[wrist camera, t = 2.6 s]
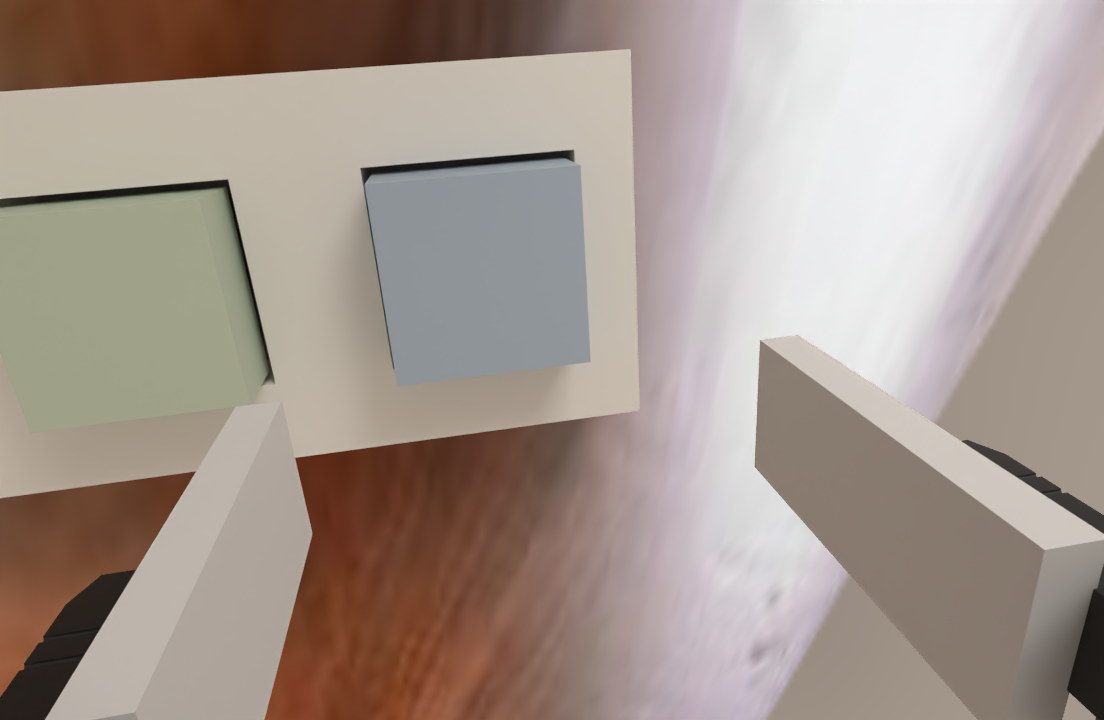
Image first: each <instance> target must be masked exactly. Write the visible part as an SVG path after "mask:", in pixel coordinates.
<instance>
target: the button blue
mask: <svg viewBox="0 0 1104 720" xmlns="http://www.w3.org/2000/svg"><path fill="white" fill-rule="evenodd" d="M365 191H366V197H367V203H368V209H369V216H370V222H371V228H372V234H373V240H374V246H375V252H376V259H377V265H378V271H379V277H380V283H381V289H382V295H383V302H384V308H385V314H386V320H387V326H388V332H389V338H390V345H391V351H392V357H393V363H394V369H395V375H396V381H397V386H405V385H413V384H421V383H429V382H437V381H445V380H452V379H460V378H468V377H476V376H484V375H492V374H500V373H508V372H516V371H524V370H531V369H539V368H547V367H555V366H563V365H571V364H579V363H587V362H591V359H590V340H589V320H588V301H587V282H586V262H585V243H584V223H583V204H582V185H581V165H579V164H577V163H574V162H572V161H570V160H568V159H566V158H564V157H560V158H549V159H537V160H526V161H514V162H503V163H491V164H480V165H468V166H457V167H445V168H434V169H422V170H411V171H399V172H388V173H377V174H371V176H370V177H369V179H368V180H367V182H366V183H365Z"/></svg>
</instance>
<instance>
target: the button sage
mask: <svg viewBox="0 0 1104 720" xmlns="http://www.w3.org/2000/svg"><path fill="white" fill-rule="evenodd" d="M0 354H1V357H2V359H3V362H4V365H5V367H6V370H7V373H8V375H9V378H10V380H11V383H12V386H13V388H14V391H15V393H16V396H17V399H18V401H19V404H20V406H21V409H22V412H23V414H24V417H25V420H26V422H27V425H28V427H29V430H30V433H34V432H42V431H49V430H57V429H65V428H73V427H81V426H89V425H97V424H105V423H113V422H121V421H128V420H136V419H144V418H152V417H160V416H168V415H176V414H184V413H192V412H200V411H208V410H215V409H223V408H231V407H237V406H245V405H251V403H252V401H253V399H254V398H255V396H256V394H257V392H258V391H259V389H260V387H261V385H262V384H263V382H264V380H265V378H266V376H267V375H268V373H269V367H268V363H267V358H266V354H265V350H264V345H263V341H262V337H261V333H260V328H259V324H258V320H257V315H256V311H255V307H254V303H253V298H252V294H251V290H250V286H249V281H248V277H247V273H246V268H245V264H244V260H243V256H242V251H241V247H240V243H239V239H238V234H237V230H236V226H235V221H234V217H233V213H232V209H231V204H230V200H229V196H228V191H227V187H216V188H204V189H193V190H181V191H170V192H158V193H147V194H136V195H124V196H113V197H101V198H90V199H78V200H67V201H55V202H44V203H32V204H21V205H9V206H6V207H2V208H0Z"/></svg>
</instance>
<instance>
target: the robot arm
mask: <svg viewBox="0 0 1104 720" xmlns="http://www.w3.org/2000/svg"><path fill="white" fill-rule="evenodd" d="M755 468H756V469H757V470H758V471H759V472H760V473H761V474H762V475H763V477H764V478H765V479H766V480H767V481H768V482H769V483H770V485H771V486H772V487H773V488H774V489H775V490H776V491H777V492H778V494H779V495H780V496H781V497H782V498H783V499H784V500H785V502H786V503H787V504H788V505H789V506H790V507H791V508H792V510H793V511H794V512H795V513H796V514H797V515H798V516H799V517H800V519H801V520H802V521H803V522H804V523H805V524H806V525H807V527H808V528H809V529H810V530H811V531H812V532H813V533H814V534H815V536H816V537H817V538H818V539H819V540H820V541H821V542H822V544H823V545H824V546H825V547H826V548H827V549H828V550H829V552H830V553H831V554H832V555H833V556H834V557H835V558H836V559H837V561H838V562H839V563H840V564H841V565H842V566H843V567H844V569H845V570H846V571H847V572H848V573H849V574H850V575H851V576H852V578H853V579H854V580H855V581H856V582H857V583H858V584H859V586H860V587H861V588H862V589H863V590H864V591H865V592H866V593H867V595H868V596H869V597H870V598H871V599H872V600H873V601H874V602H875V604H876V605H877V606H878V607H879V608H880V609H881V610H882V612H883V613H884V614H885V615H886V616H887V617H888V618H889V619H890V621H891V622H892V623H893V624H894V625H895V626H896V627H897V629H898V630H899V631H900V632H901V633H902V634H903V635H904V637H905V638H906V639H907V640H908V641H909V642H910V643H911V645H912V646H913V647H914V648H915V649H916V650H917V651H918V653H919V654H920V655H921V656H922V657H923V658H924V659H925V660H926V662H927V663H928V664H929V665H930V666H931V667H932V668H933V670H934V671H935V672H936V673H937V674H938V675H939V676H940V677H941V679H942V680H943V681H944V682H945V683H946V684H947V685H948V686H949V688H950V689H951V690H952V691H953V692H954V693H955V694H956V696H957V697H958V698H959V699H960V700H961V701H962V702H963V704H965V706H966V707H967V708H968V709H969V710H970V711H971V713H972V714H973V715H974V716H975V717H976V718H977V719H978V720H1062V718H1063V714H1064V710H1065V707H1066V703H1067V699H1068V695H1069V692H1070V693H1071V694H1072V695H1073V696H1074V697H1075V698H1076V699H1077V700H1078V701H1079V702H1081V703H1082V704H1083V705H1084V706H1085V707H1086V708H1087V709H1088V710H1089V711H1090V712H1091V713H1092V714H1094V715H1095V716H1096V720H1104V515H1102V514H1101V513H1099V512H1098V511H1096V510H1094V509H1093V508H1091V507H1090V506H1088V505H1086V504H1085V503H1083V502H1081V501H1080V500H1078V499H1077V498H1075V497H1073V496H1072V495H1070V494H1069V493H1062V492H1061V489H1060V488H1059V487H1057V486H1056V485H1054V484H1053V483H1051V482H1049V481H1048V480H1046V479H1045V478H1043V477H1036V473H1035V472H1033V471H1032V470H1030V469H1028V468H1027V467H1025V466H1023V465H1022V464H1020V463H1019V462H1017V461H1016V460H1014V459H1012V458H1011V457H1009V456H1008V455H1006V454H1004V453H1001V452H998V451H995V450H993V449H990V448H987V447H985V446H982V445H979V444H976V443H974V442H971V441H969V440H965V441H960V440H958V439H957V438H955V437H954V436H952V435H951V434H949V433H948V432H946V431H944V430H943V429H941V428H940V427H938V426H937V425H935V424H934V423H932V422H931V421H929V420H928V419H926V418H925V417H923V416H921V415H920V414H918V413H917V412H915V411H914V410H912V409H911V408H909V407H908V406H906V405H904V404H903V403H901V402H900V401H898V400H897V399H895V398H894V397H892V396H891V395H889V394H888V393H886V392H884V391H883V390H881V389H880V388H878V387H877V386H875V385H874V384H872V383H871V382H869V381H868V380H866V379H864V378H863V377H861V376H860V375H858V374H857V373H855V372H854V371H852V370H851V369H849V368H848V367H846V366H844V365H843V364H841V363H840V362H838V361H837V360H835V359H834V358H832V357H831V356H829V355H828V354H826V353H824V352H823V351H821V350H820V349H818V348H817V347H815V346H814V345H812V344H811V343H809V342H808V341H806V340H804V339H803V338H801V337H800V336H798V335H796V336H788V337H781V338H773V339H765V340H760V355H759V379H758V402H757V425H756V448H755ZM311 537H312V529H311V525H310V521H309V516H308V512H307V508H306V504H305V499H304V495H303V491H302V486H301V482H300V478H299V473H298V469H297V465H296V460H295V456H294V452H293V447H292V443H291V439H290V434H289V430H288V426H287V421H286V417H285V413H284V408H283V404H282V401H277V402H269V403H261V404H253V405H245V406H237V407H235V409H234V410H233V412H232V414H231V415H230V417H229V419H228V420H227V422H226V424H225V425H224V427H223V429H222V430H221V432H220V433H219V435H218V437H217V438H216V440H215V442H214V443H213V445H212V447H211V448H210V450H209V451H208V453H207V455H206V456H205V458H204V460H203V461H202V463H201V465H200V466H199V468H198V470H197V471H196V473H195V474H194V476H193V478H192V479H191V481H190V483H189V484H188V486H187V488H186V489H185V491H184V493H183V494H182V496H181V497H180V499H179V501H178V502H177V504H176V506H175V507H174V509H173V511H172V512H171V514H170V515H169V517H168V519H167V520H166V522H165V524H164V525H163V527H162V529H161V530H160V532H159V534H158V535H157V537H156V538H155V540H154V542H153V543H152V545H151V547H150V548H149V550H148V552H147V553H146V555H145V557H144V558H143V560H142V561H141V563H140V565H139V566H138V568H137V570H132V571H126V572H119V573H113V574H106V575H101V576H100V577H99V578H98V579H97V580H95V581H94V582H93V583H92V584H90V585H89V586H88V587H87V588H86V589H84V590H83V591H82V592H81V593H79V594H78V595H77V596H76V597H75V598H73V599H72V600H71V601H70V602H68V603H67V604H66V605H65V607H64V608H63V609H62V611H61V612H60V614H59V615H58V616H57V618H56V619H55V621H54V622H53V624H52V625H51V626H50V628H49V629H48V631H47V632H46V634H45V635H44V636H43V637H44V641H43V642H42V643H38V645H37V646H36V648H35V649H34V651H33V652H32V653H31V655H30V656H29V658H28V659H27V660H26V662H25V663H24V666H25V667H24V670H22V671H19V672H18V673H17V675H16V676H15V677H14V679H13V680H12V682H11V683H10V685H9V686H8V687H7V689H6V690H5V692H4V693H3V694H2V696H1V697H0V720H264V719H265V715H266V711H267V707H268V704H269V700H270V696H271V692H272V688H273V684H274V680H275V677H276V673H277V669H278V665H279V661H280V657H281V653H282V650H283V646H284V642H285V638H286V634H287V630H288V626H289V622H290V619H291V615H292V611H293V607H294V603H295V599H296V595H297V592H298V588H299V584H300V580H301V576H302V572H303V568H304V565H305V561H306V557H307V553H308V549H309V545H310V541H311Z"/></svg>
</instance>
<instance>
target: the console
mask: <svg viewBox="0 0 1104 720" xmlns="http://www.w3.org/2000/svg"><path fill="white" fill-rule="evenodd" d="M560 157H564V158H566V159H568V160H570V161H572V162H574V163H577V164H579V165H581V185H582V204H583V223H584V243H585V262H586V282H587V301H588V320H589V340H590V359H591V362H587V363H579V364H571V365H563V366H555V367H547V368H539V369H531V370H524V371H516V372H508V373H500V374H492V375H484V376H476V377H468V378H460V379H452V380H445V381H437V382H429V383H421V384H413V385H405V386H397V381H396V375H395V369H394V363H393V357H392V351H391V345H390V338H389V332H388V326H387V320H386V314H385V308H384V302H383V295H382V289H381V283H380V277H379V271H378V265H377V259H376V252H375V246H374V240H373V234H372V228H371V222H370V216H369V209H368V203H367V197H366V191H365V183H366V182H367V180H368V179H369V177H370V176H371V174H377V173H388V172H399V171H411V170H422V169H434V168H445V167H457V166H468V165H480V164H491V163H503V162H514V161H526V160H537V159H549V158H560ZM216 187H227V191H228V196H229V200H230V204H231V209H232V213H233V217H234V221H235V226H236V230H237V234H238V239H239V243H240V247H241V251H242V256H243V260H244V264H245V268H246V273H247V277H248V281H249V286H250V290H251V294H252V298H253V303H254V307H255V311H256V315H257V320H258V324H259V328H260V333H261V337H262V341H263V345H264V350H265V354H266V358H267V363H268V367H269V373H268V375H267V376H266V378H265V380H264V382H263V384H262V385H261V387H260V389H259V391H258V392H257V394H256V396H255V398H254V399H253V401H252V403H251V405H253V404H261V403H269V402H277V401H282V404H283V408H284V413H285V417H286V421H287V426H288V430H289V434H290V439H291V443H292V447H293V452H294V456H295V458H297V457H305V456H312V455H319V454H326V453H334V452H341V451H348V450H356V449H363V448H370V447H378V446H385V445H392V444H399V443H407V442H414V441H421V440H429V439H436V438H443V437H450V436H458V435H465V434H472V433H480V432H487V431H494V430H502V429H509V428H516V427H523V426H531V425H538V424H545V423H553V422H560V421H567V420H575V419H582V418H589V417H596V416H604V415H611V414H618V413H626V412H633V411H640V408H639V367H638V327H637V286H636V245H635V205H634V164H633V123H632V83H631V49H626V50H611V51H596V52H581V53H567V54H552V55H537V56H522V57H507V58H493V59H478V60H463V61H448V62H433V63H419V64H404V65H389V66H374V67H359V68H345V69H330V70H315V71H300V72H285V73H271V74H256V75H241V76H226V77H211V78H196V79H182V80H167V81H152V82H137V83H122V84H108V85H93V86H78V87H63V88H48V89H34V90H19V91H4V92H0V208H2V207H6V206H9V205H21V204H32V203H44V202H55V201H67V200H78V199H90V198H101V197H113V196H124V195H136V194H147V193H158V192H170V191H181V190H193V189H204V188H216ZM234 409H235V407H231V408H223V409H215V410H208V411H200V412H192V413H184V414H176V415H168V416H160V417H152V418H144V419H136V420H128V421H121V422H113V423H105V424H97V425H89V426H81V427H73V428H65V429H57V430H49V431H42V432H34V433H30V430H29V427H28V425H27V422H26V420H25V417H24V414H23V412H22V409H21V406H20V404H19V401H18V399H17V396H16V393H15V391H14V388H13V386H12V383H11V380H10V378H9V375H8V373H7V370H6V367H5V365H4V362H3V359H2V357H1V354H0V498H5V497H13V496H20V495H27V494H35V493H42V492H49V491H56V490H64V489H71V488H78V487H86V486H93V485H100V484H108V483H115V482H122V481H129V480H137V479H144V478H151V477H159V476H166V475H173V474H181V473H188V472H195V471H197V470H198V468H199V466H200V465H201V463H202V461H203V460H204V458H205V456H206V455H207V453H208V451H209V450H210V448H211V447H212V445H213V443H214V442H215V440H216V438H217V437H218V435H219V433H220V432H221V430H222V429H223V427H224V425H225V424H226V422H227V420H228V419H229V417H230V415H231V414H232V412H233V410H234Z"/></svg>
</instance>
